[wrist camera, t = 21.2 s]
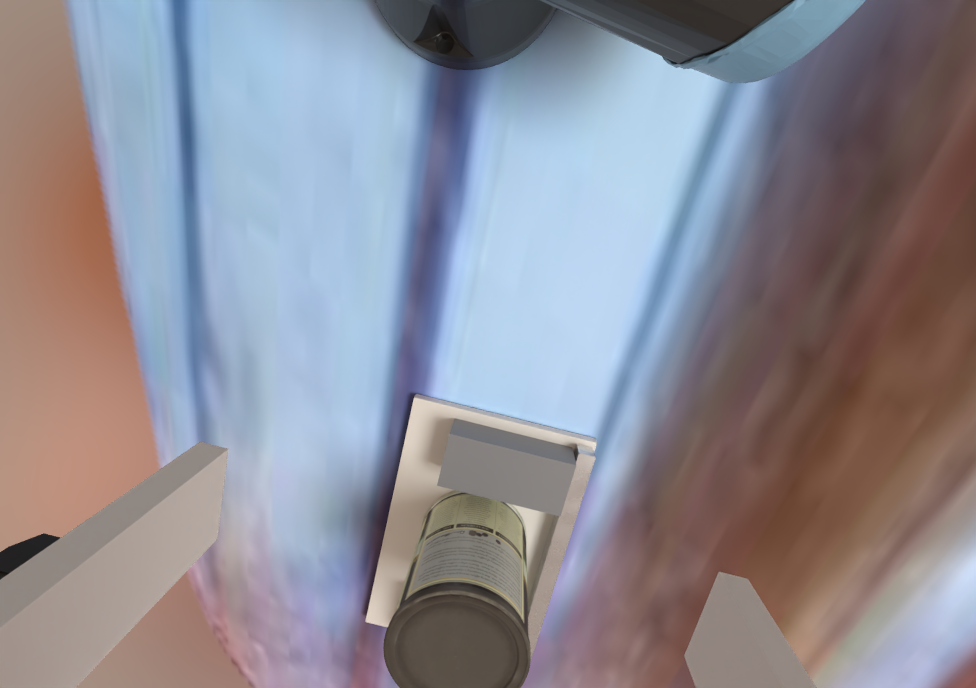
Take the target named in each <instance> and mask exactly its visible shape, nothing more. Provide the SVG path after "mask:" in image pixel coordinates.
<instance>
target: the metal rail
mask: <svg viewBox="0 0 976 688" xmlns="http://www.w3.org/2000/svg"><path fill="white" fill-rule="evenodd" d="M574 457H575V461H576V468H575V471H574V475H573V478H572V481H571V484H570V488H569V491H568V494H567V497H566V500H565V504H564V507H563V510H562V513H561V516H556V515H554V518H553V521H552V525H551V528H550V531H549V534H548V538H547V541H546V544H545V547H544V551H543V554H542V557H541V560H540V564H539V567H538V570H537V573H536V577H535V580H534V583H533V586H532V590H531V593H530V596H529V599H528V636H529V640H530V648H531V658H532V655H533V652H534V649H535V646H536V642H537V639H538V636H539V633H540V630H541V627H542V624H543V621H544V617H545V614H546V611H547V608H548V605H549V602H550V599H551V596H552V592H553V589H554V586H555V583H556V580H557V577H558V574H559V571H560V567H561V564H562V561H563V558H564V555H565V552H566V549H567V546H568V542H569V539H570V536H571V533H572V530H573V527H574V524H575V521H576V517H577V514H578V511H579V508H580V505H581V502H582V499H583V496H584V492H585V489H586V486H587V483H588V480H589V477H590V474H591V471H592V467H593V464H594V461H595V458H596V456H595V453H594V450H593V447H590V446H586V445H582V444H578V443H576V447H575V450H574Z"/></svg>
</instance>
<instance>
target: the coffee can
mask: <svg viewBox="0 0 976 688" xmlns="http://www.w3.org/2000/svg"><path fill="white" fill-rule="evenodd" d="M526 544H527V532H526V527H525V524H524V521H523V519H522V517H521V515H520V513H519V512H518V511H517V509H516V508H515V507H514V506H513V505H512V504H508V503H504V502H500V501H496V500H492V499H488V498H484V497H480V496H476V495H472V494H468V493H464V492H460V491H453V492H450V493H448V494H446V495H444V496H442V497H441V498H439V499H438V500H437V501H436V502H435V503H433V505H432V506H431V507H430V508H429V510H428V511H427V513H426V514H425V516H424V519H423V522H422V527H421V532H420V535H419V538H418V541H417V544H416V547H415V551H414V554H413V557H412V560H411V563H410V566H409V569H408V572H407V576H406V579H405V581H404V585H403V588H402V591H401V594H400V597H399V601H398V604H397V607H396V610H395V613H394V615H393V617H392V619H391V621H390V623H389V625H388V628H387V631H386V634H385V639H384V658H385V662H386V666H387V668H388V671H389V673H390V674H391V676H392V678H393V679H394V681H395V682H396V684H397V685H398V686H399V687H400V688H520V687H521V686H522V685H523V683H524V681H525V679H526V677H527V675H528V672H529V668H530V661H531V648H530V640H529V636H528V596H527V555H526Z"/></svg>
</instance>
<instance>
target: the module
mask: <svg viewBox="0 0 976 688" xmlns="http://www.w3.org/2000/svg"><path fill="white" fill-rule="evenodd" d="M575 468H576V461H575V457H574V453H573V448H572V447H568V446H564V445H560V444H556V443H552V442H548V441H544V440H540V439H536V438H532V437H528V436H524V435H520V434H516V433H512V432H508V431H504V430H500V429H496V428H492V427H488V426H484V425H480V424H476V423H472V422H468V421H464V420H460V419H456V418H454V421H453V424H452V427H451V430H450V433H449V438H448V442H447V446H446V450H445V454H444V458H443V463H442V467H441V471H440V475H439V479H438V483H437V486H440V487H444V488H448V489H452V490H456V491H460V492H464V493H468V494H472V495H476V496H480V497H484V498H488V499H492V500H496V501H500V502H504V503H508V504H512V505H516V506H520V507H524V508H528V509H532V510H536V511H540V512H544V513H548V514H552V515H556V516H561V513H562V510H563V507H564V504H565V500H566V497H567V494H568V491H569V488H570V484H571V481H572V478H573V475H574V471H575Z"/></svg>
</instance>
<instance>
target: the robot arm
mask: <svg viewBox="0 0 976 688" xmlns="http://www.w3.org/2000/svg"><path fill="white" fill-rule="evenodd" d="M865 1H866V0H375V2H376V4H377V6H378V8H379V9H380V11H381V13H382V15H383V16H384V18H385V19H386V21H387V22H388V24H389V25H390V27H391V28H392V29H393V31H394V32H395V33H396V35H397V36H398V37H399V38H400V39H401V40H402V41H403V42H404V43H405V44H406V45H407V46H408V47H409V48H410V49H411V50H413V51H414V52H415V53H417V54H418V55H420V56H421V57H423V58H425V59H427V60H429V61H431V62H433V63H435V64H438V65H441V66H444V67H448V68H453V69H462V70H473V69H482V68H487V67H491V66H494V65H497V64H500V63H502V62H505V61H507V60H509V59H511V58H513V57H514V56H516V55H517V54H519V53H520V52H522V51H523V50H524V49H526V48H527V47H528V46H529V45H530V44H531V43H532V42H533V41H534V40H535V39H536V38H537V37H538V36H539V35H540V34H541V33H542V31H543V30H544V29H545V27H546V26H547V25H548V23H549V22H550V20H551V18H552V17H553V15H554V13H555V11H556V9H557V8H558V9H560V10H562V11H564V12H566V13H569V14H571V15H573V16H575V17H577V18H580V19H582V20H584V21H586V22H588V23H591V24H593V25H595V26H597V27H599V28H602V29H604V30H606V31H608V32H610V33H613V34H615V35H617V36H619V37H621V38H624V39H626V40H628V41H630V42H632V43H635V44H637V45H639V46H641V47H643V48H646V49H648V50H650V51H652V52H654V53H657V54H659V55H661V56H662V57H663V59H664V60H665V61H666V62H667V63H668V64H670V65H672V66H674V67H681V68H683V69H690V68H692V69H694V70H697V71H699V72H702V73H704V74H707V75H710V76H712V77H715V78H717V79H720V80H722V81H725V82H729V83H748V82H756V81H759V80H762V79H765V78H767V77H770V76H772V75H774V74H776V73H778V72H780V71H782V70H784V69H786V68H787V67H789V66H790V65H792V64H794V63H795V62H797V61H798V60H799V59H801V58H802V57H804V56H805V55H806V54H808V53H809V52H810V51H811V50H813V49H814V48H815V47H816V46H818V45H819V44H820V43H821V42H823V41H824V40H825V39H826V38H827V37H828V36H829V35H831V34H832V33H833V32H834V31H835V30H836V29H837V28H838V27H839V26H841V25H842V24H843V23H844V22H845V21H846V20H847V19H848V18H849V17H850V16H851V15H852V14H853V13H854V12H855V11H856V10H857V9H858V8H859V7H860V6H861V5H862V4H863V3H864V2H865ZM227 457H228V449H227V448H223V447H219V446H215V445H211V444H207V443H203V442H199V443H198V444H196V445H195V446H193V447H192V448H190V449H189V450H187V451H186V452H185V453H183V454H182V455H180V456H179V457H177V458H176V459H174V460H173V461H172V462H170V463H169V464H167V465H166V466H164V467H163V468H161V469H160V470H159V471H157V472H156V473H154V474H153V475H151V476H150V477H148V478H147V479H145V480H144V481H143V482H141V483H140V484H139V485H137V486H135V487H134V488H132V489H131V490H130V491H128V492H127V493H125V494H124V495H122V496H121V497H120V498H118V499H117V500H115V501H114V502H112V503H111V504H109V505H108V506H106V507H105V508H103V509H102V510H101V511H99V512H98V513H96V514H95V515H93V516H92V517H91V518H89V519H87V520H86V521H85V522H83V523H82V524H80V525H79V526H77V527H76V528H74V529H73V530H72V531H70V532H69V533H67V534H66V535H64V536H63V537H61V538H60V537H56V536H52V535H48V534H41V535H38V536H36V537H33V538H31V539H28V540H25V541H23V542H20V543H18V544H15V545H12V546H10V547H8V548H6V549H5V550H3V551H1V552H0V688H76V687H77V686H78V685H79V684H80V683H81V682H82V681H83V679H84V678H85V677H86V676H87V675H88V674H89V673H90V672H91V671H92V670H93V669H94V668H95V667H96V666H97V665H98V664H99V663H100V662H101V661H102V659H103V658H104V657H105V656H106V655H107V654H108V653H109V652H110V651H111V650H112V649H113V648H114V647H115V646H116V645H117V644H118V643H119V642H120V641H121V640H122V638H123V637H124V636H125V635H126V634H127V633H128V632H129V631H130V630H131V629H132V628H133V627H134V626H135V625H136V624H137V623H138V622H139V620H141V619H142V618H143V616H144V615H145V614H146V613H147V612H148V611H149V610H150V609H151V608H152V607H153V606H154V605H155V604H156V603H157V602H158V601H159V600H160V599H161V597H162V596H163V595H164V594H165V593H166V592H167V591H168V590H169V589H170V588H171V587H172V586H173V585H174V584H175V583H176V582H177V581H178V580H179V579H180V578H181V577H182V576H183V574H184V573H185V572H186V571H187V570H188V569H189V568H190V567H191V566H192V565H193V564H194V563H195V562H196V561H197V560H198V559H199V558H200V557H201V556H202V555H203V554H204V552H205V551H206V550H207V549H208V548H209V547H210V546H211V545H212V544H213V543H214V542H215V541H216V540H217V538H218V530H219V522H220V513H221V505H222V497H223V489H224V481H225V473H226V465H227ZM684 657H685V660H686V662H687V665H688V668H689V670H690V673H691V676H692V678H693V681H694V684H695V686H696V688H816V686H815V684H814V683H813V681H812V680H811V678H810V677H809V675H808V673H807V672H806V670H805V669H804V667H803V666H802V664H801V662H800V661H799V659H798V658H797V656H796V654H795V653H794V651H793V650H792V648H791V647H790V645H789V643H788V642H787V640H786V639H785V637H784V636H783V634H782V632H781V631H780V629H779V628H778V626H777V624H776V623H775V621H774V620H773V618H772V617H771V615H770V613H769V612H768V610H767V609H766V607H765V606H764V604H763V602H762V601H761V599H760V598H759V596H758V594H757V593H756V591H755V590H754V588H753V587H752V585H751V583H750V582H749V580H748V579H746V578H742V577H738V576H734V575H730V574H726V573H722V572H719V573H718V575H717V577H716V580H715V582H714V585H713V587H712V590H711V592H710V594H709V597H708V599H707V602H706V604H705V607H704V609H703V612H702V614H701V616H700V619H699V621H698V624H697V626H696V629H695V631H694V633H693V636H692V638H691V641H690V643H689V646H688V648H687V651H686V653H685V655H684Z"/></svg>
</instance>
